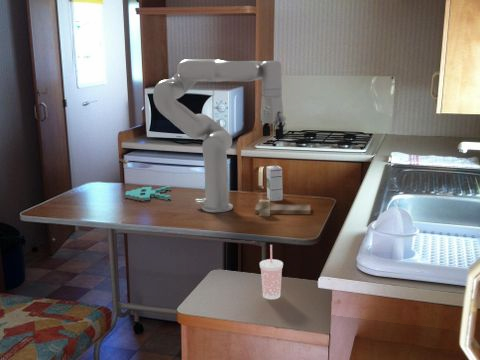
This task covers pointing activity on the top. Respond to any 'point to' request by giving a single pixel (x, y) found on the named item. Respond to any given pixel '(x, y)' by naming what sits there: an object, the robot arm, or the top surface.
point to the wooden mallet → (264, 207)
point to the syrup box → (274, 183)
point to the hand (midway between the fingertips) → (272, 137)
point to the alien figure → (148, 193)
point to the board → (286, 209)
